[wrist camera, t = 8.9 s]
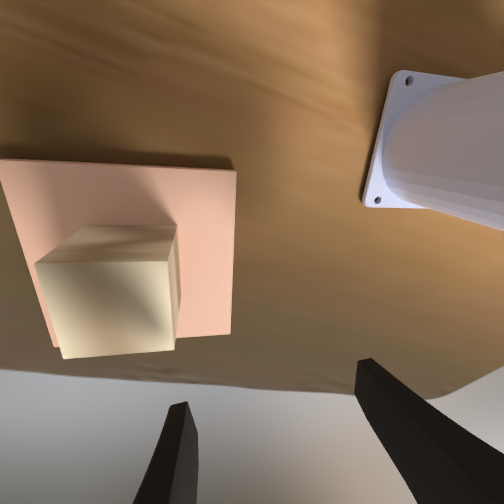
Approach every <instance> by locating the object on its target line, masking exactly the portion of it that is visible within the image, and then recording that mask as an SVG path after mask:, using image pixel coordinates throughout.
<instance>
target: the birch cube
mask: <svg viewBox="0 0 504 504" xmlns="http://www.w3.org/2000/svg"><path fill="white" fill-rule="evenodd" d="M34 266H35V269H36V272H37V276H38V279H39V282H40V285H41V288H42V292H43V295H44V298H45V301H46V305H47V308H48V311H49V314H50V317H51V321H52V324H53V327H54V330H55V334H56V337H57V340H58V343H59V346H60V350H61V353H62V356H63V359H70V358H82V357H94V356H106V355H119V354H131V353H143V352H155V351H167V350H174V347H175V339H176V331H177V324H178V316H179V309H180V301H181V281H180V263H179V245H178V226H177V225H85V226H84V227H83V228H81V229H80V230H78V231H77V232H76V233H74V234H73V235H72V236H70V237H69V238H68V239H66V240H65V241H64V242H62V243H61V244H60V245H58V246H57V247H56V248H54V249H53V250H52V251H50V252H49V253H47V254H46V255H45V256H43V257H42V258H41V259H39V260H38V261H37V262H35V263H34Z"/></svg>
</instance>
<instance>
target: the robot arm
mask: <svg viewBox="0 0 504 504" xmlns="http://www.w3.org/2000/svg"><path fill="white" fill-rule="evenodd" d="M406 78H408V80H409V82H408V85H407V86H406V84H405V80H406ZM376 197H378V200H377V201H376V202H374V200H375V198H376ZM362 203H363V205H364V206H367V207H385V208H427V209H432V210H435V211H439V212H442V213H445V214H448V215H452V216H455V217H458V218H462V219H465V220H468V221H471V222H475V223H478V224H481V225H484V226H488V227H491V228H494V229H498V230H501V231H504V71H501V72H497V73H493V74H488V75H484V76H479V77H475V78H470V79H464V78H457V77H450V76H443V75H436V74H429V73H422V72H415V71H408V70H400V71H397V72H396V73H394V74H393V76H392V78H391V80H390V84H389V88H388V93H387V97H386V101H385V105H384V109H383V114H382V118H381V122H380V126H379V130H378V135H377V139H376V143H375V147H374V151H373V155H372V160H371V164H370V168H369V172H368V176H367V181H366V185H365V189H364V193H363V197H362ZM354 393H355V396H356V398H357V399H358V402H359V404H360V406H361V408H362V410H363V412H364V414H365V416H366V418H367V420H368V421H369V423H370V425H371V427H372V428H373V430H374V432H375V433H376V435H377V437H378V438H379V440H380V441H381V443H382V445H383V446H384V448H385V450H386V451H387V453H388V454H389V456H390V457H391V459H392V461H393V463H394V464H395V466H396V467H397V469H398V471H399V472H400V474H401V476H402V477H403V479H404V480H405V482H406V484H407V485H408V487H409V489H410V490H411V492H412V494H413V496H414V498H415V500H416V501H417V504H504V454H503V453H501V452H499V451H498V450H496V449H495V448H493V447H492V446H490V445H489V444H487V443H485V442H484V441H482V440H481V439H479V438H477V437H476V436H475V435H473V434H472V433H470V432H469V431H467V430H466V429H464V428H463V427H461V426H460V425H458V424H457V423H455V422H454V421H453V420H451V419H450V418H448V417H447V416H445V415H444V414H442V413H441V412H440V411H439V410H437V409H436V408H434V407H433V406H431V405H430V404H429V403H427V402H426V401H425V400H424V399H422V398H421V397H420V396H418V395H417V394H416V393H414V392H413V391H412V390H411V389H409V388H408V387H407V386H405V385H404V384H403V383H402V382H400V381H399V380H398V379H397V378H395V377H394V376H393V375H392V374H390V373H389V372H388V371H387V370H385V369H384V368H383V367H382V366H381V365H379V364H378V363H377V362H376V361H374V360H373V359H372V358H369V359H364V360H360V361H358V363H357V372H356V382H355V391H354ZM198 464H199V463H198V433H197V429H196V426H195V423H194V420H193V417H192V414H191V411H190V408H189V405H188V402H182V403H178V404H174V405H171V406H170V408H169V411H168V414H167V417H166V420H165V423H164V426H163V429H162V432H161V435H160V438H159V440H158V443H157V446H156V448H155V451H154V454H153V456H152V459H151V461H150V464H149V466H148V469H147V471H146V474H145V476H144V479H143V481H142V483H141V486H140V488H139V490H138V493H137V495H136V497H135V499H134V501H133V504H196V500H197V483H198Z"/></svg>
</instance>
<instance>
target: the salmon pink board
mask: <svg viewBox="0 0 504 504" xmlns="http://www.w3.org/2000/svg"><path fill="white" fill-rule="evenodd" d="M236 174H237V172H236V171H235V170H229V169H209V168H189V167H169V166H149V165H129V164H109V163H88V162H68V161H48V160H28V159H0V181H1V184H2V187H3V190H4V193H5V196H6V199H7V202H8V205H9V209H10V212H11V215H12V218H13V221H14V224H15V227H16V230H17V233H18V237H19V240H20V243H21V246H22V249H23V252H24V255H25V258H26V261H27V264H28V268H29V271H30V274H31V277H32V280H33V283H34V286H35V289H36V292H37V296H38V299H39V302H40V305H41V308H42V311H43V314H44V317H45V320H46V324H47V327H48V330H49V333H50V336H51V339H52V342H53V345H54V347H60V346H59V343H58V340H57V337H56V334H55V330H54V327H53V324H52V321H51V317H50V314H49V311H48V308H47V305H46V301H45V298H44V295H43V292H42V288H41V285H40V282H39V279H38V276H37V272H36V269H35V266H34V263H35V262H37V261H38V260H39V259H41V258H42V257H43V256H45V255H46V254H47V253H49V252H50V251H52V250H53V249H54V248H56V247H57V246H58V245H60V244H61V243H62V242H64V241H65V240H66V239H68V238H69V237H70V236H72V235H73V234H74V233H76V232H77V231H78V230H80V229H81V228H83V227H84V226H85V225H177V226H178V245H179V263H180V281H181V301H180V309H179V316H178V324H177V331H176V338H182V337H196V336H209V335H223V334H230V327H231V301H232V276H233V250H234V225H235V199H236Z"/></svg>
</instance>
